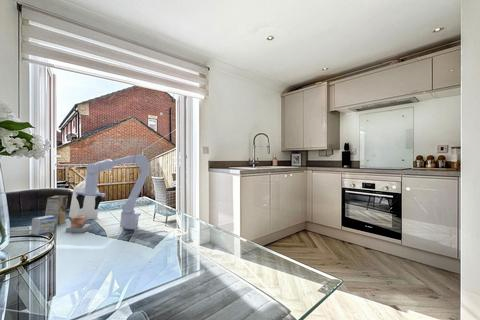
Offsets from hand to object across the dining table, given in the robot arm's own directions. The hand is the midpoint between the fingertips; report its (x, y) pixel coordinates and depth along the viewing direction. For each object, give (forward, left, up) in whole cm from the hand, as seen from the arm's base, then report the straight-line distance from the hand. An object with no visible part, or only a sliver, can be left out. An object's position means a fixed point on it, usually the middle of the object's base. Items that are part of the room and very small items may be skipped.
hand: (88, 208), depth 130 cm
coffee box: (+16, 0, -11) cm, 19 cm away
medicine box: (+13, +15, -11) cm, 23 cm away
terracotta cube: (0, +9, -7) cm, 12 cm away
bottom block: (0, +9, -11) cm, 14 cm away
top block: (0, +9, -9) cm, 13 cm away
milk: (+11, -20, -11) cm, 25 cm away
